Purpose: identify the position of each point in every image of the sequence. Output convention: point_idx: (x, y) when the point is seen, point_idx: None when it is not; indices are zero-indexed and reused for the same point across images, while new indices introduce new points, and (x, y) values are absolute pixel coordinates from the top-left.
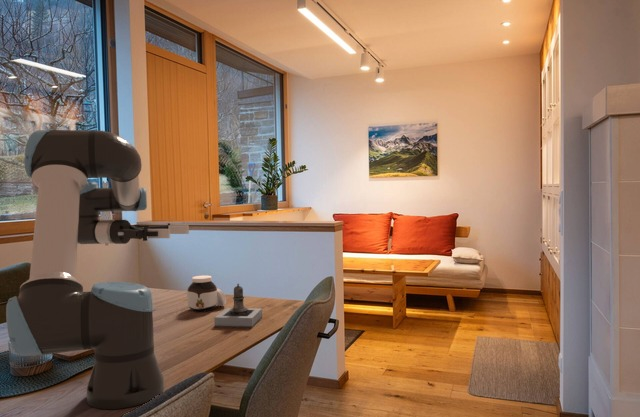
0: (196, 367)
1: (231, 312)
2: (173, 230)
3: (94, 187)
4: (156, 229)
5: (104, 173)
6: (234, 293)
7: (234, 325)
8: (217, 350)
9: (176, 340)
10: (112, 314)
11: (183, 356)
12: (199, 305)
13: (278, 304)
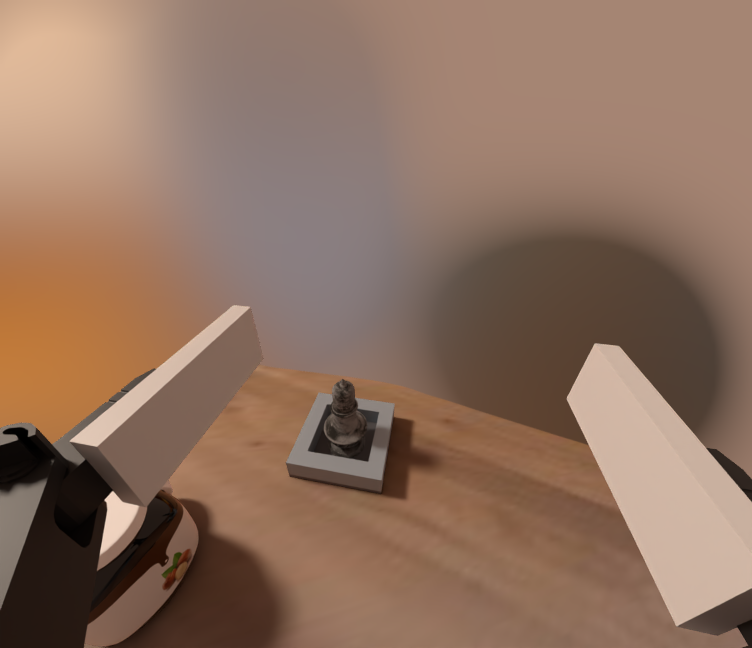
0: None
1: (356, 441)
2: (177, 430)
3: None
4: (698, 443)
5: None
6: (349, 404)
7: (388, 445)
8: (544, 460)
9: (509, 583)
10: None
11: (612, 525)
12: (178, 572)
13: None
